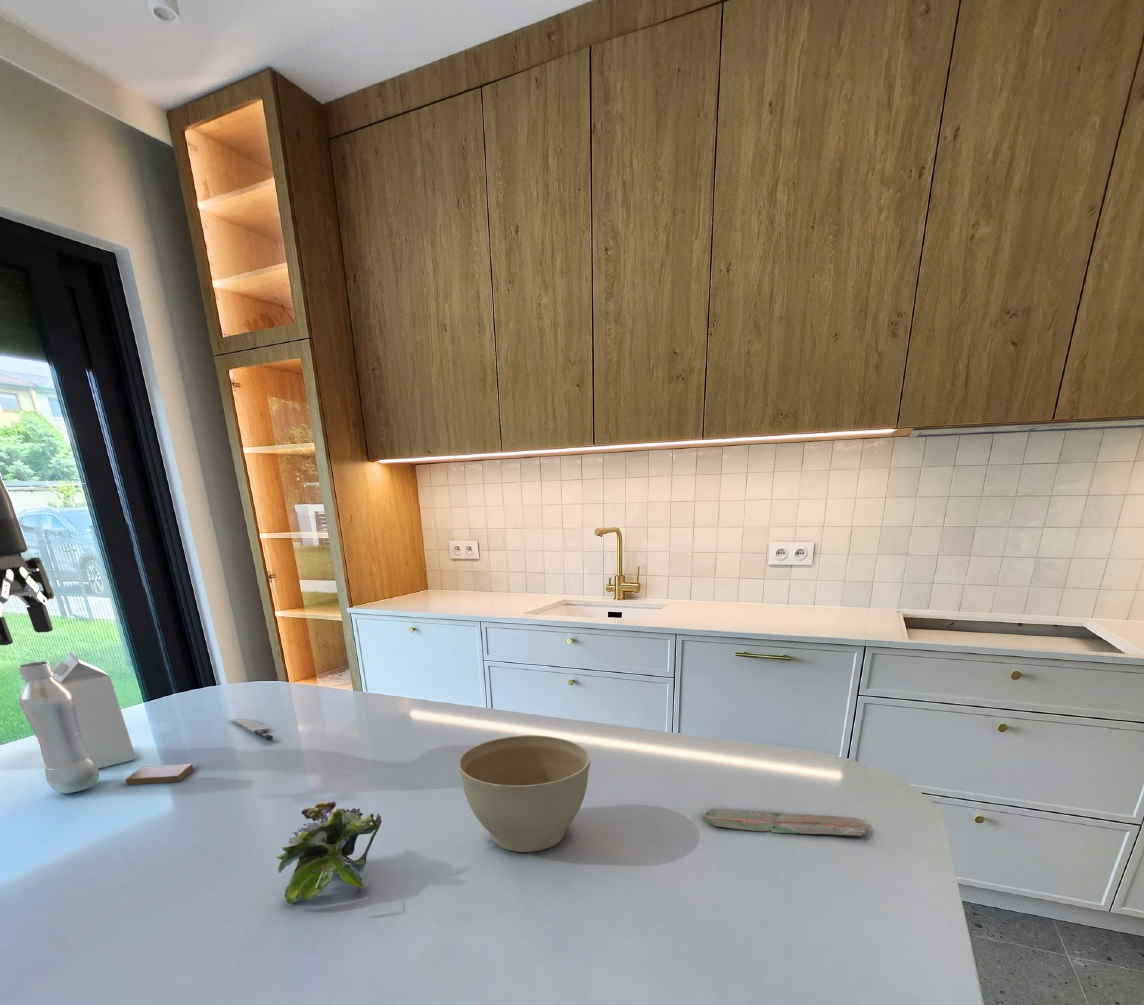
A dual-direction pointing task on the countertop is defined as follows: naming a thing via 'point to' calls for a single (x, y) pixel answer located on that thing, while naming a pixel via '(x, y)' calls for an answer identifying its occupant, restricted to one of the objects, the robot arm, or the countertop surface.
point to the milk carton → (96, 711)
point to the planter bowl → (525, 788)
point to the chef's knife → (255, 728)
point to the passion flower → (326, 850)
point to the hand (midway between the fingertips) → (24, 638)
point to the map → (786, 822)
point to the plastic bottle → (56, 729)
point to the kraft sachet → (159, 774)
